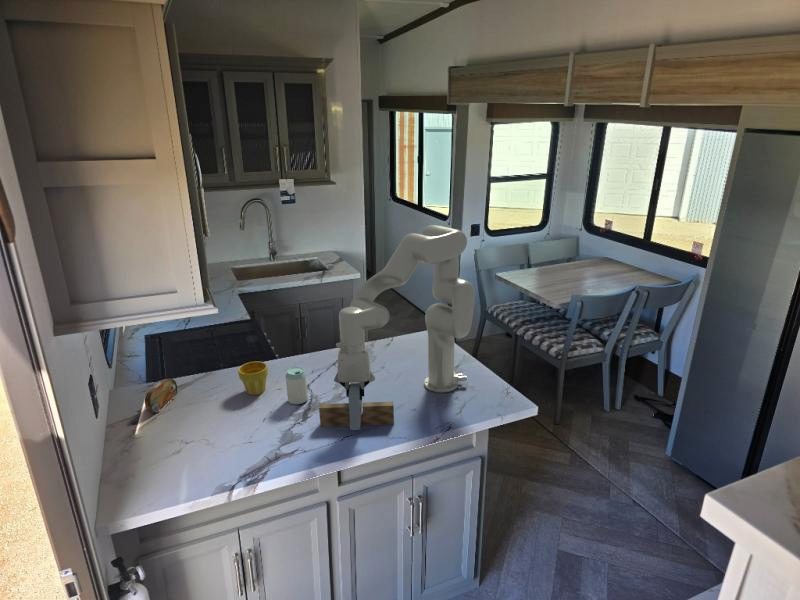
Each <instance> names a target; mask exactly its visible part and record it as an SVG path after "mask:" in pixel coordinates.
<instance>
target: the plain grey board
mask: <svg viewBox="0 0 800 600" xmlns="http://www.w3.org/2000/svg"><path fill="white" fill-rule="evenodd" d="M349 384H350V388H349V398H348V403H349V414H350V426H349V428H350V431H352V430H353V431H356V430H361V425H360V423H361V412H363V407H362V406H363V399H362V400H360V382H349Z"/></svg>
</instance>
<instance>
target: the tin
mask: <svg viewBox="0 0 800 600" xmlns="http://www.w3.org/2000/svg"><path fill="white" fill-rule="evenodd" d="M177 395H178V384H177V381H176V380H175V379H173V378H163V379H162V380H160V381H159V382H157V384H155V385H154V386H153V387H151V389H149V390H148V391H147V392H146V394H145V396H144V405H145V408H146V410H147V411H148V412H150V413H160V412H159V410H161V409H162V408H163V407H164V406H165V405H166V404H167V403H168V401H170V400H171V399H172V398H173V397H175V396H177ZM175 398H176V397H175ZM161 411H162V410H161Z"/></svg>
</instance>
